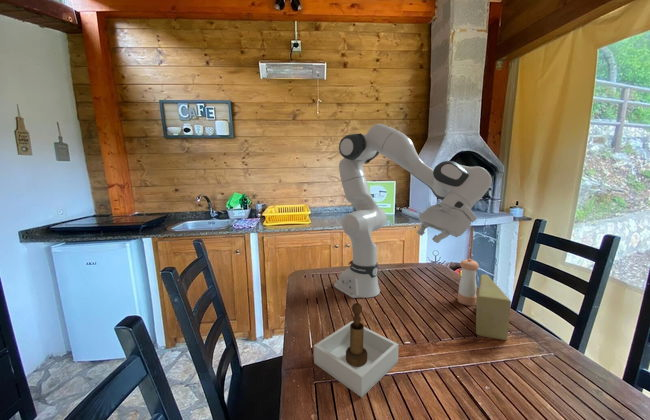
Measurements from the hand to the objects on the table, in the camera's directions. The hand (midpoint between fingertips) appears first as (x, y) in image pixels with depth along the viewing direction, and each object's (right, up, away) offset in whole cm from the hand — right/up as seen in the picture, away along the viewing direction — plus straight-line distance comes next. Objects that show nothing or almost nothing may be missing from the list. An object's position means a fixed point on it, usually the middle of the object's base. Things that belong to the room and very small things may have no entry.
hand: (426, 237), depth 94 cm
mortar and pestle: (-25, -36, -10) cm, 45 cm away
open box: (-25, -37, -10) cm, 46 cm away
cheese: (+26, -33, +11) cm, 44 cm away
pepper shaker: (+27, -30, +26) cm, 48 cm away
